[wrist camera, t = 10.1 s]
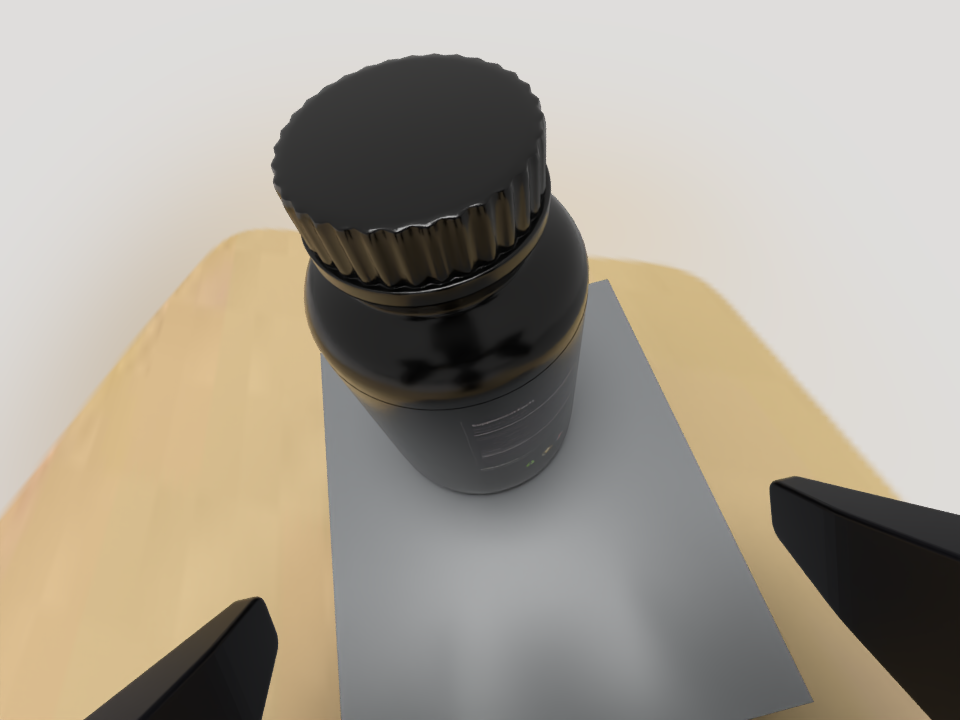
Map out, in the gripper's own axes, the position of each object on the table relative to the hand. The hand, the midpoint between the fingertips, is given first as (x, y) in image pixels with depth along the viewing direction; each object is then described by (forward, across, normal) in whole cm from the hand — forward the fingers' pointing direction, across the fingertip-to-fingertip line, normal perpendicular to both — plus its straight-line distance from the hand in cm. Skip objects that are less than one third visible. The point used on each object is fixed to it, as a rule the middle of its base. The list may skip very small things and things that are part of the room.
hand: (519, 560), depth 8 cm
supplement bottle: (+10, 0, +1) cm, 10 cm away
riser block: (+10, 0, +5) cm, 11 cm away
